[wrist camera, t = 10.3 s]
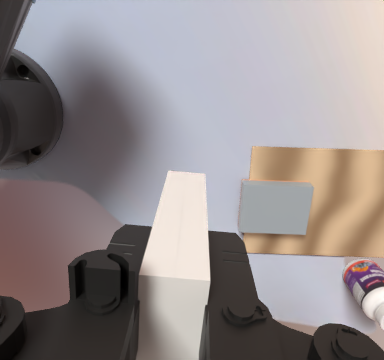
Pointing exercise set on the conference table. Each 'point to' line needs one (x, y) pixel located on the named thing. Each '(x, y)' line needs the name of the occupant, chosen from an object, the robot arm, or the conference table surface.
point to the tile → (274, 206)
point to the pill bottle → (367, 287)
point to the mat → (327, 200)
